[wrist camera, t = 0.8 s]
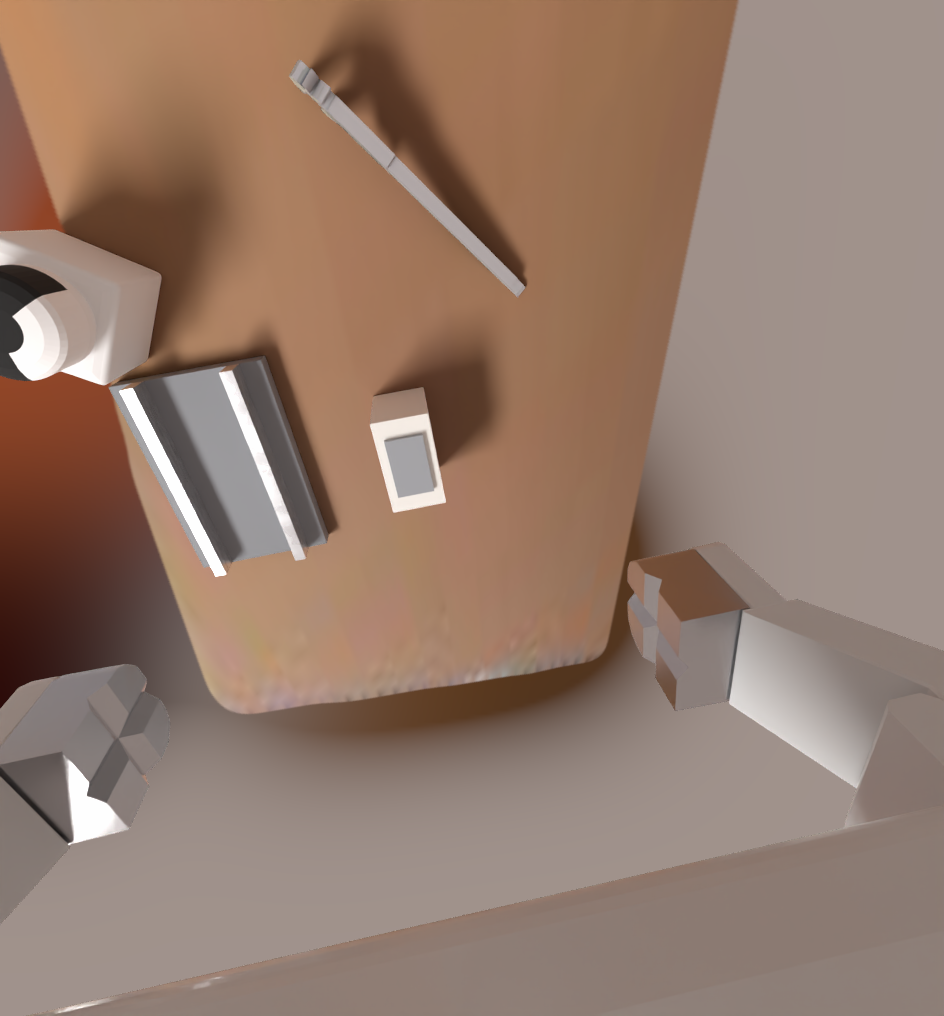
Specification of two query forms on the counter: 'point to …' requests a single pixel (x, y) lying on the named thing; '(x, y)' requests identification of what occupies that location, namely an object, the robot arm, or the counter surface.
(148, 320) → the medicine bottle
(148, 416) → the din rail
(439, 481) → the din module
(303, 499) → the rail base
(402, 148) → the counter surface
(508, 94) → the counter surface
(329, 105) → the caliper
